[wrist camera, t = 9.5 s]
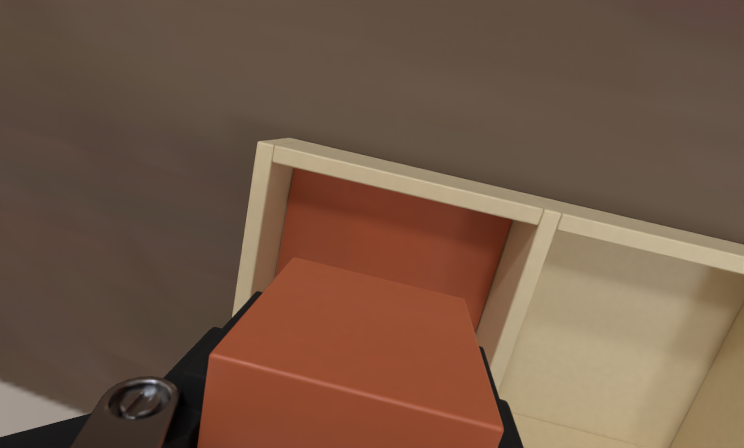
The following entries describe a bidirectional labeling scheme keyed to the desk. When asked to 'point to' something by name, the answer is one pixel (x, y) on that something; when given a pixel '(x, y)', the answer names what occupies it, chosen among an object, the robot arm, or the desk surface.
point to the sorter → (527, 292)
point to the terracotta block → (349, 368)
